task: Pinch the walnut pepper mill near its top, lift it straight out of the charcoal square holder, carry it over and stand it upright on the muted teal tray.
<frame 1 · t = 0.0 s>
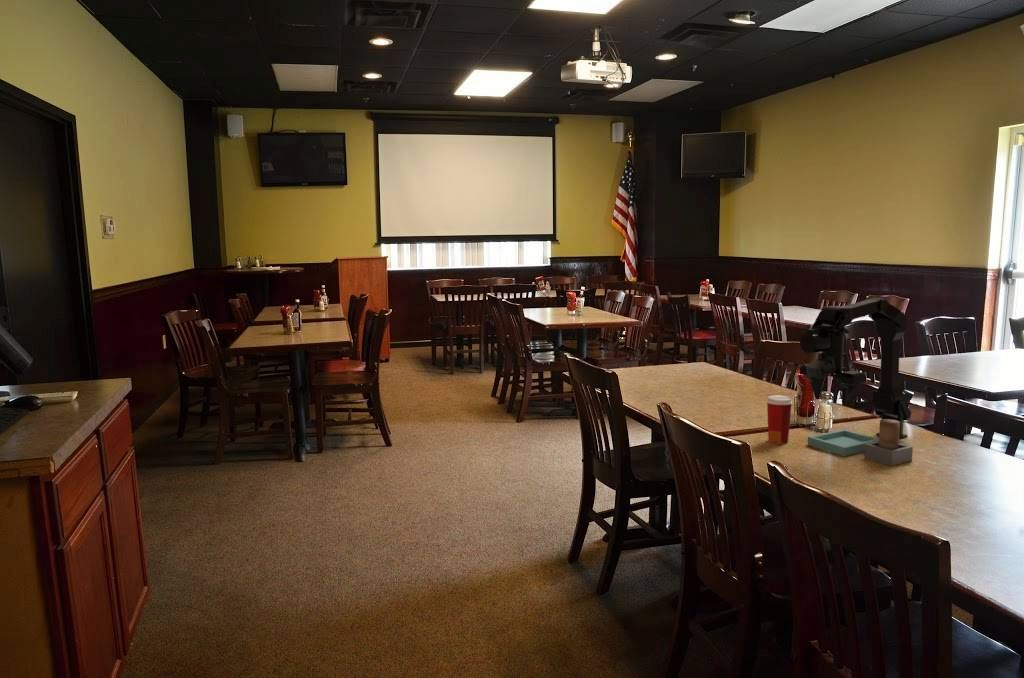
hand: (830, 402, 210), 15 cm above the table, tool pointing down, fingers open, 9 cm apart
pepper mill: (888, 440, 202), in the holder
holder: (887, 459, 203), on the table
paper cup: (777, 442, 222), on the table
tray: (844, 446, 216), on the table
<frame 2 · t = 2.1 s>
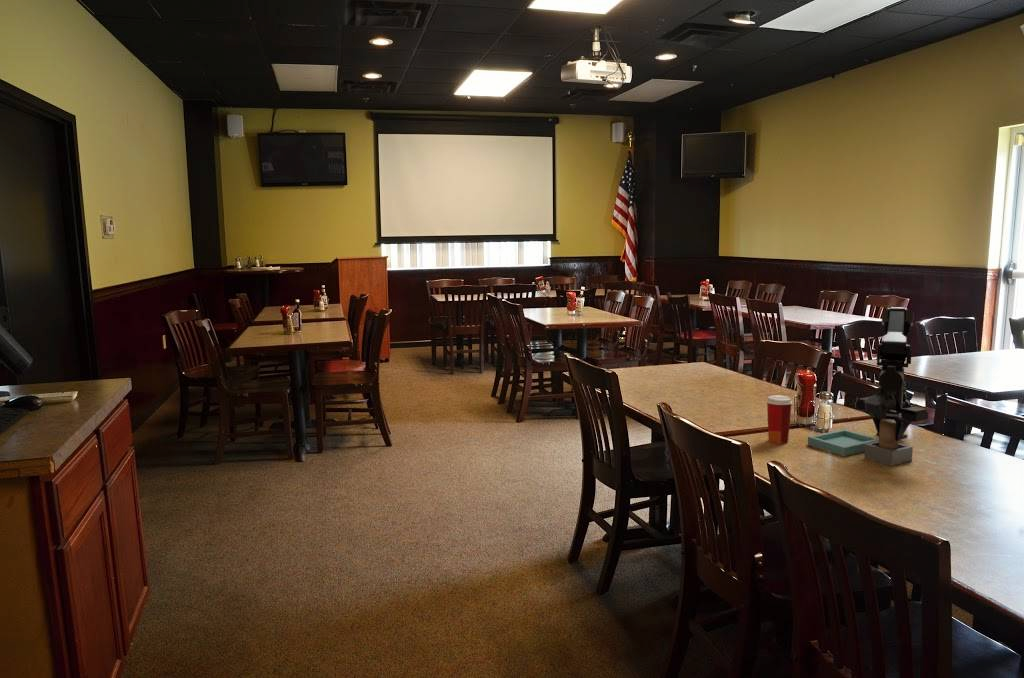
hand: (888, 438, 202), 6 cm above the table, tool pointing down, fingers closed on pepper mill, 5 cm apart
pepper mill: (888, 440, 202), in the holder, touching gripper
everything else where it was.
when the fingers open (8 cm above the table, at t = 5.6 s): pepper mill drops 1 cm, resting on tray.
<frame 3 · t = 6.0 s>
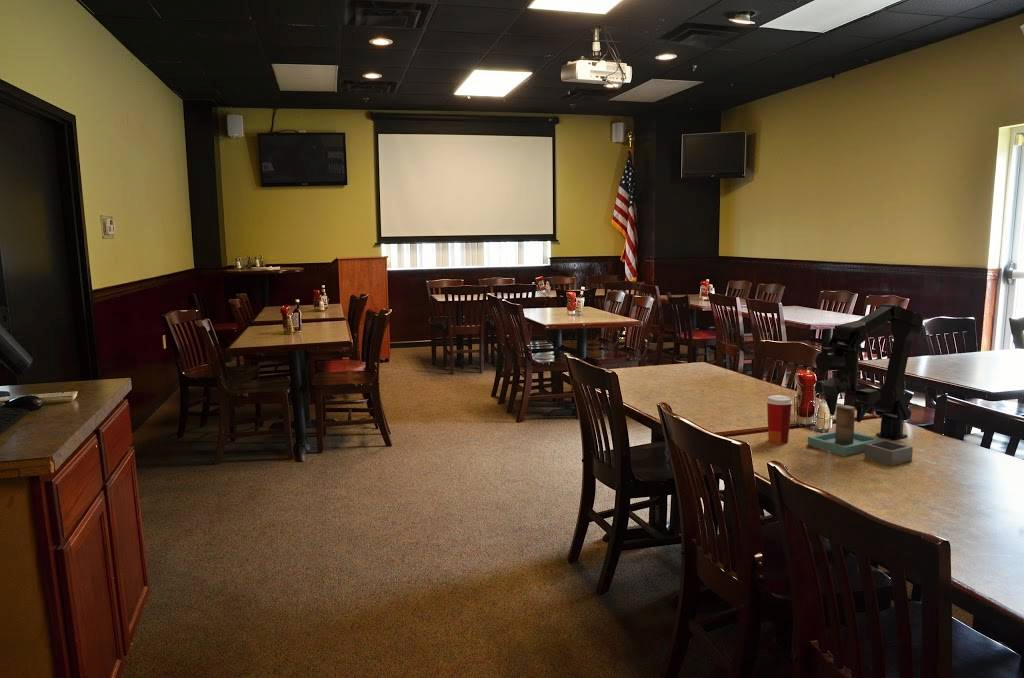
hand: (845, 418, 215), 8 cm above the table, tool pointing down, fingers open, 9 cm apart
pepper mill: (844, 425, 215), in the tray, point 6 cm above the table
everything else where it was.
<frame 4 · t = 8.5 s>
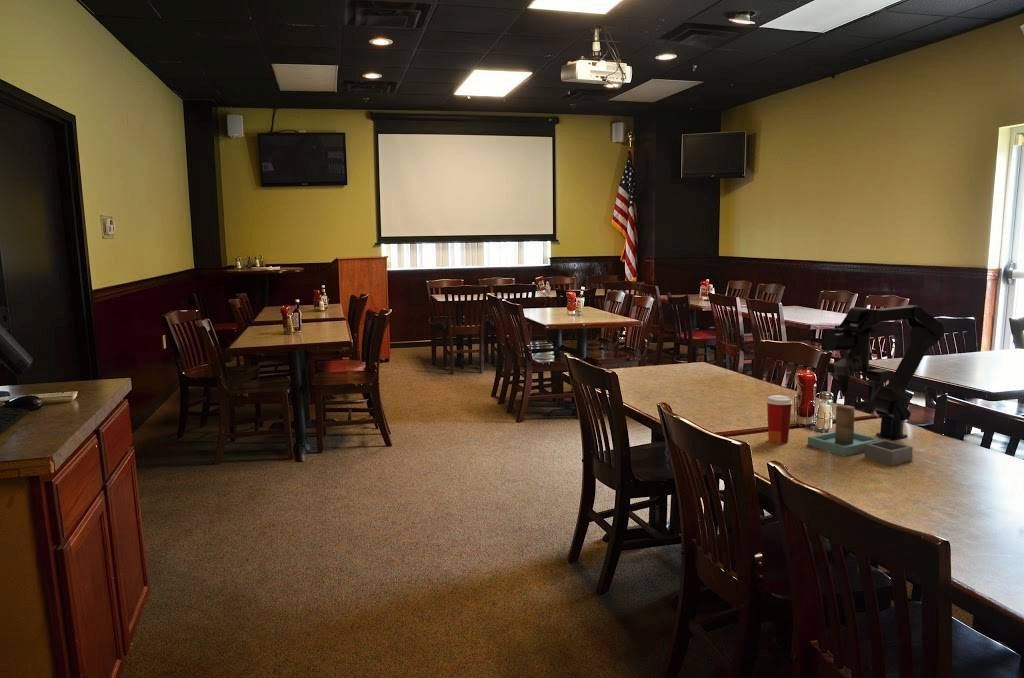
hand: (856, 399, 220), 13 cm above the table, tool pointing down, fingers open, 9 cm apart
nothing on the table moved.
at the end: pepper mill inside the target area on the tray (0.0 cm from its centre), point 6.5 cm above the tray's base; pepper mill tilted 1°; the gripper is holding nothing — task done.
